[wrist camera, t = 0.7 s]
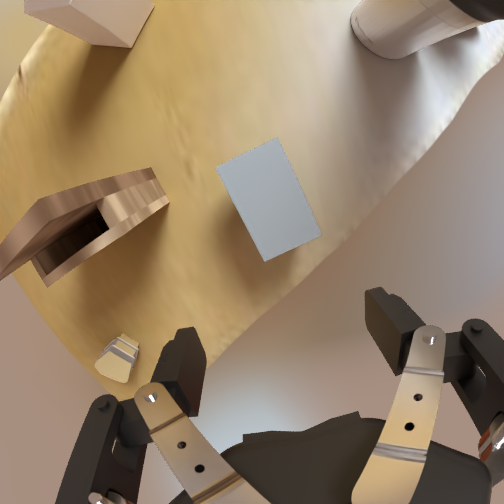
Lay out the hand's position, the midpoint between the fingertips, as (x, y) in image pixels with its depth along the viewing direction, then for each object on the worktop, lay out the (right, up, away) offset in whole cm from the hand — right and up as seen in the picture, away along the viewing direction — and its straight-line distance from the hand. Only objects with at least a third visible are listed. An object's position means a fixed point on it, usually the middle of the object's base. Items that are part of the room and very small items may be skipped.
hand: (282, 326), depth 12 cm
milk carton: (-18, +33, +11) cm, 40 cm away
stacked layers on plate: (-23, -13, +29) cm, 39 cm away
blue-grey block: (0, +11, +19) cm, 22 cm away
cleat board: (-18, +8, +20) cm, 28 cm away
